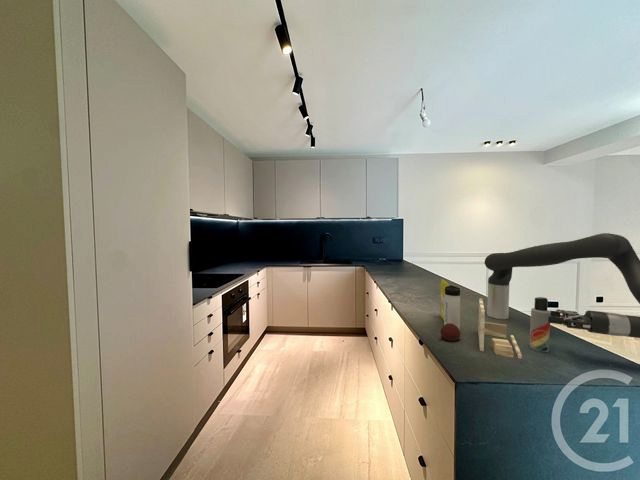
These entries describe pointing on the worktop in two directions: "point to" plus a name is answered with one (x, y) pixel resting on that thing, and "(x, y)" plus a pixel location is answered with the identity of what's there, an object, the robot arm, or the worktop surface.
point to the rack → (492, 330)
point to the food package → (442, 297)
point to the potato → (450, 332)
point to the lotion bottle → (540, 325)
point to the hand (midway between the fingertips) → (545, 316)
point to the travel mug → (452, 306)
